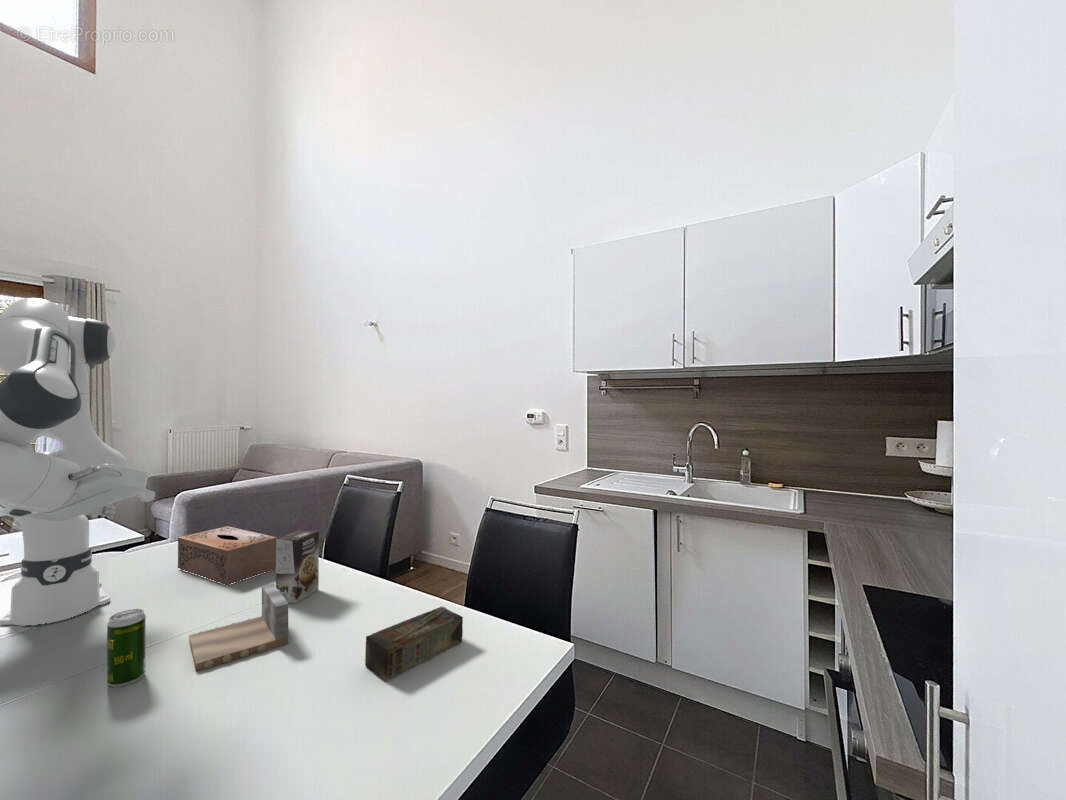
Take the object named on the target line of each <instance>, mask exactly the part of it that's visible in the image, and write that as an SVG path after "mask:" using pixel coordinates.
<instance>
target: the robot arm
mask: <svg viewBox="0 0 1066 800" xmlns="http://www.w3.org/2000/svg"><path fill="white" fill-rule="evenodd" d="M115 346H116V339H115V335H114V333H113V331H112V330H111V327H110V325H108V323H106V322H105V321H102V320H98V319H93V318H86V319H85V318H81V317H73V316H69V315H68V313H67V312H66V311H65V309H63V308H62V307H61V306H60V305H58V304H56V303H55V302H53V301H51V300H48V299H43V298H37V297H28V298H23V299H19V300H17V301H14V302H13V303H12V304H10V305H9V306H7V307H6V309H4V310H3V311H2V312H0V370H2V371H3V372H6V373H8V375H7V376H4V378H3V379H2V380H1V381H0V506H2V507H3V508H5V512H4V515H5V516H6V517H7V516H8V517H12V518H16V519H17V521H18V523H19V525H20V528H21V532H22V538H23V539H22V540H23V558H22V559H21V564H20V575H21V576H22V577H21V578H20V579H19V580H18V581H17V582H15V583H14V585H12V587H11V593H10V611H8V612H7V613H6V614H5V615H4V616H2V617H1V618H0V626H4V625H8V626H9V625H15V626H21V627H29V626H28V625H32V626H38V625H37V624H41V625H46V624H45V623H47V624H51V623H52V624H53V623H56V622H61V621H65V620H68V619H72V618H75V617H77V615H78V616H80V615H79V614H81V615H83V614H85V613H84V612H86V613H87V611H88V612H90V611H91V610H90V609H92V608H94V607H96V606H98V605H101V604H103V605H105V604H104V603H106V602H108V601H110V602H111V598H110V596H109V595H108V594H107V592H106V591H105V590H104V589H103V588H102V584H101V582H100V571H99V570H97V568H95V567H93V566H92V561H93V553H92V548H90V521H89V518H88V517H87V516H101V517H110V516H113V515H115V514H116V512H117V506H116V505H113V504H114V503H117V502H120V501H122V500H125V499H128V498H130V497H133V498H134V497H138V501H140V502H143V503H148V502H151V501H153V500H154V499H155V497H156V492H155V491H154V490H149V489H147V488H146V487H147V484H148V479H149V474H147V472H146V471H143V470H141V469H136V468H133V467H129V463H128V460H127V458H126V457H125V456H124V455H123V453H121V452H120V451H119V450H116V449H115V448H113V447H111V446H109V445H108V444H106V443H105V442H104V441H103V440H102V439H101V438H100V436H98V434H97V432H96V431H95V429H94V427H93V423H92V418H91V407H90V406H91V405H90V379H89V374H88V368H87V365H88V367H89V369H90V370H91V369H94V368H95V367H96V366H97V365H101V364H104V363H105V362H106V361H108V360H109V359H110V358H111V356H112V354H113V352H114V350H115V348H116V347H115ZM86 364H87V365H86ZM42 436H43V437H46V438H50V439H53V440H56V441H58V442H59V443H60V444H62V446H63V447H62V449H59V450H54V451H52V450H51V451H50V450H48V451H34V450H32V449H31V446H32V443H33V442H35V441H37V440H39V438H41V437H42ZM106 604H107V603H106ZM101 606H102V605H101ZM98 607H99V606H98ZM96 608H97V607H96ZM94 609H95V608H94ZM89 610H90V611H89ZM92 610H93V609H92ZM82 613H83V614H82ZM74 616H75V617H74ZM71 617H72V618H71ZM34 624H35V625H34ZM26 625H27V626H26Z"/></svg>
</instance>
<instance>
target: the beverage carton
mask: <svg viewBox="0 0 1066 800" xmlns="http://www.w3.org/2000/svg"><path fill="white" fill-rule="evenodd" d="M463 619H464V617H463V616H462V615H460V614H458V613H456V612H453V611H452V610H450V609H448V608H447V607H445V606H440V607H437V608H434V609H432V610H430V611H427V612H424V613H421V614H419V615H418V614H417V615H416V616H414V617H411V618H409V619H406V620H403V621H401V622H398V623H396V624H394V625H391V626H388V627H386V628H383V629H381V630H378V631H376V632H373V633H371V634H369V635H366V636H365V658H364V664H365V667H366V668H367V669H369V670H370V671H372V672H373V673H374V674H375V675H376V676H378V677H379V678H380V679H382V680H383V681H384V682H387V681H389V680H391V679H393V678H395V677H397V676H399V675H401V674H402V673H404V672H406V671H408V670H411V669H413V668H414V667H417V666H418V665H421V664H423V663H425V662H426V661H428V660H431V659H432V658H434V657H437V656H438V655H441V654H443V653H444V652H446V651H448V650H450V649H452V648H454V647H456V646H458V645H459V644H461V643H463V636H464V635H463V631H464V630H463V624H464V622H463Z"/></svg>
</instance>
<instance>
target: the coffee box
mask: <svg viewBox="0 0 1066 800" xmlns="http://www.w3.org/2000/svg"><path fill="white" fill-rule="evenodd" d="M319 538H320V531H319V530H301V529H299V530H297V531H294V532H292V533H289V534H286V535H284V536H281V537H277V539H276V570H275V586H276V588H277V589H278V590H279V592H280V593H281V594H282V596H283V597H284V598H285V600H286V601H287V602H288V604H289V603H290V604H298V603H299V602H301V601H303V600H304V599H305V597H306V598H307V597H309V596H310V594H311V595H312V594H314V593H316V592H317V591H319V578H320V577H319V576H320V575H319V572H320V571H319V569H320V568H319V567H320V566H319V565H320V564H319V563H320V561H319V559H320V558H319V556H320V555H319V554H320V553H319V552H320V551H319V550H320V549H319V548H320V539H319ZM315 591H316V592H315ZM313 592H314V593H313ZM308 595H309V596H308Z"/></svg>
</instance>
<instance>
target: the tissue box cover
mask: <svg viewBox="0 0 1066 800" xmlns="http://www.w3.org/2000/svg"><path fill="white" fill-rule="evenodd" d="M276 539H278V537H277V536H273V535H267V534H263V533H259V532H255V531H250V530H245V529H242V528H237V527H233V526H230V525H228V526H226V525H225V526H223V527H218V528H213V529H208V530H205V531H200V532H196V533H190V534H187V535H184V536H179V537H177V569H178V568H180V569H182V570H185V571H188V572H191V573H194V574H197V575H200V576H203V577H206V578H208V579H211V580H214V581H216V582H215V583H217V582H220V583H222V584H221V585H223V584H225V585H224V586H226V585H229V584H231V583H234V582H237V581H240V580H243V579H246V578H249V577H252V576H255V575H258V574H261V573H264V572H267V573H269V572H268V571H270V572H272V571H271V570H273V571H275V570H274V569H276ZM264 574H265V573H264ZM261 575H262V574H261ZM258 576H259V575H258ZM255 577H256V576H255ZM252 578H253V577H252ZM208 579H207V580H208ZM249 579H250V578H249ZM211 580H210V581H211ZM246 580H247V579H246ZM214 581H213V582H214ZM220 583H219V584H220ZM229 586H230V585H229Z"/></svg>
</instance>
